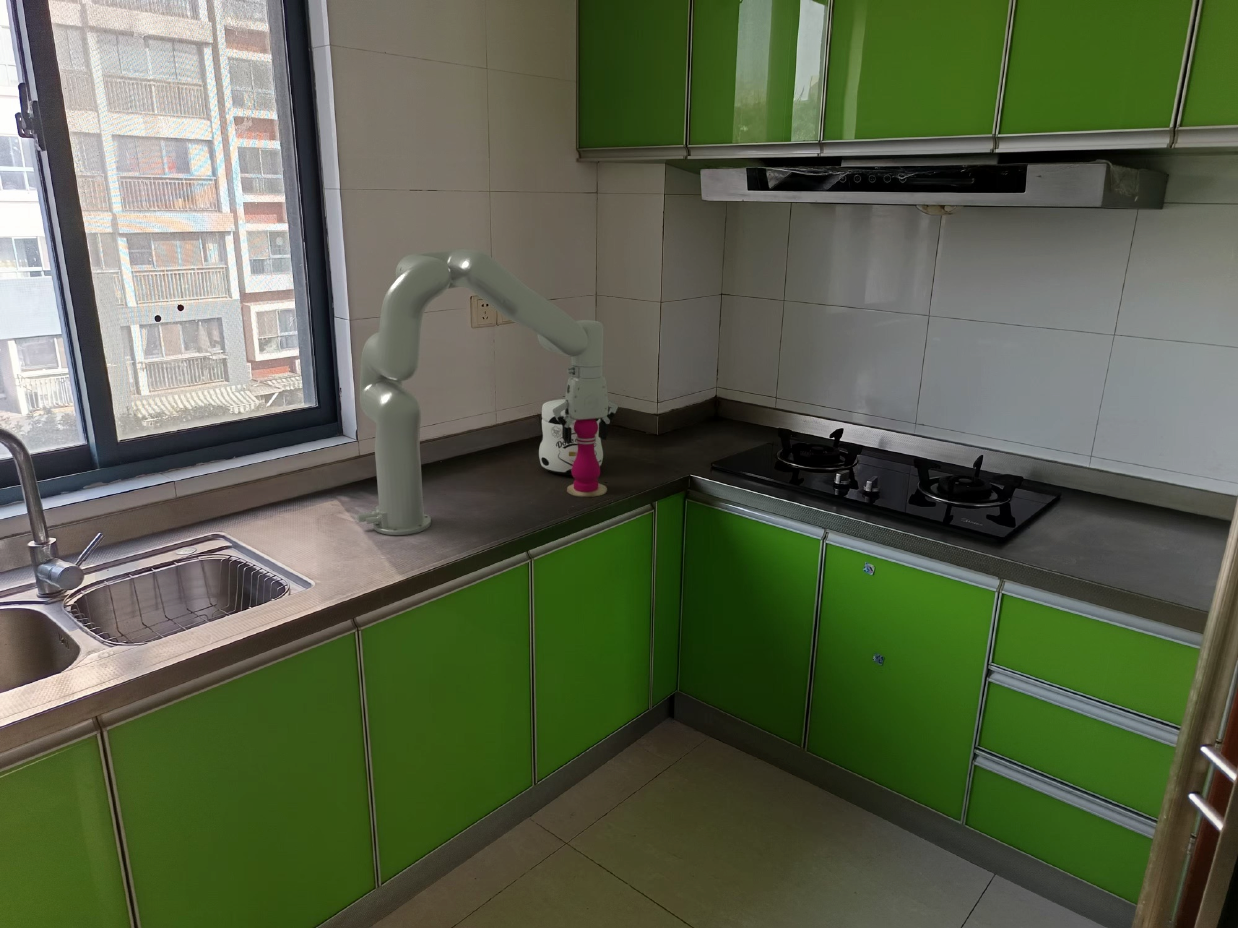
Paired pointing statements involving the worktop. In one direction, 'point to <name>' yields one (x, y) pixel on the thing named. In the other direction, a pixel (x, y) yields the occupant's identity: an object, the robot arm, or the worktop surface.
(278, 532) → the worktop surface
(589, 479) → the pepper mill
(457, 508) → the worktop surface
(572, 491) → the plate
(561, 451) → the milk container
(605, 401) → the robot arm
